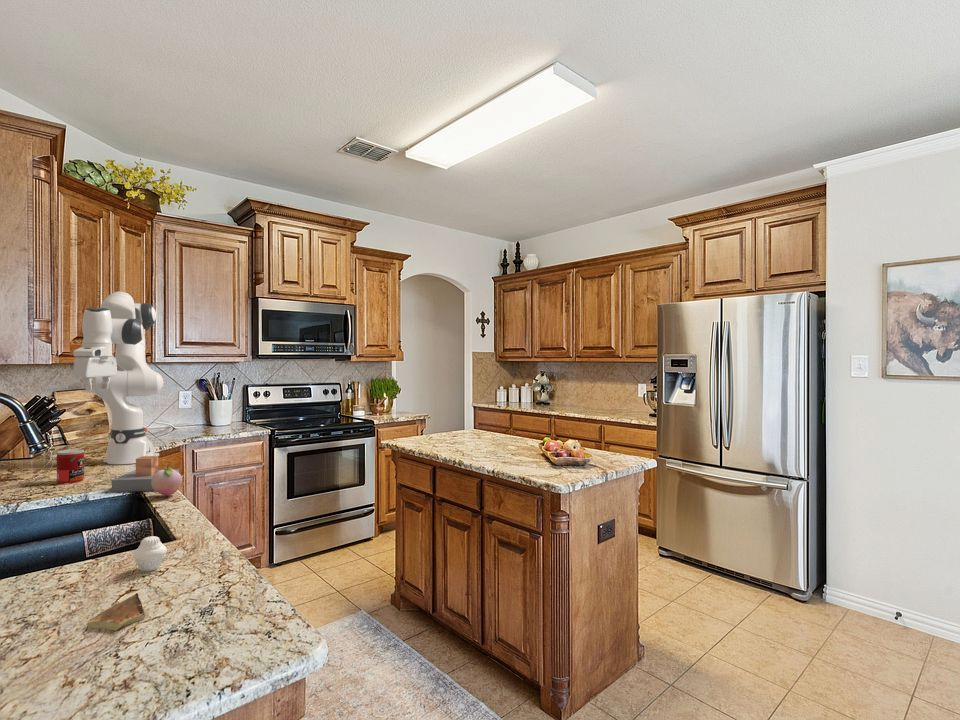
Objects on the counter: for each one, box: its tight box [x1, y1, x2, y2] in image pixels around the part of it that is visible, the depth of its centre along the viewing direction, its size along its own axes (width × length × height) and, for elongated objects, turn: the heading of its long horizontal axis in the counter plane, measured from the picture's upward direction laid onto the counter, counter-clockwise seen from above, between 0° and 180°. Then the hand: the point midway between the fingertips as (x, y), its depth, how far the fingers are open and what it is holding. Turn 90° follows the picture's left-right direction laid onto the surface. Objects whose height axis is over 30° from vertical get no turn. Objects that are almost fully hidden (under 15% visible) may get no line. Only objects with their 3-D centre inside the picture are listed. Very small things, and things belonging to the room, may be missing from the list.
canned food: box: [56, 448, 85, 484], centre depth 185 cm, size 8×8×11 cm
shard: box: [86, 592, 146, 631], centre depth 91 cm, size 11×8×2 cm
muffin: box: [132, 535, 168, 572], centre depth 110 cm, size 6×6×7 cm
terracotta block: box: [135, 456, 159, 476], centre depth 180 cm, size 5×5×6 cm
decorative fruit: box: [151, 465, 183, 498], centre depth 166 cm, size 9×8×10 cm
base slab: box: [111, 468, 180, 493], centre depth 180 cm, size 15×15×4 cm
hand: (97, 389), depth 187 cm, fingers open, 8 cm apart
